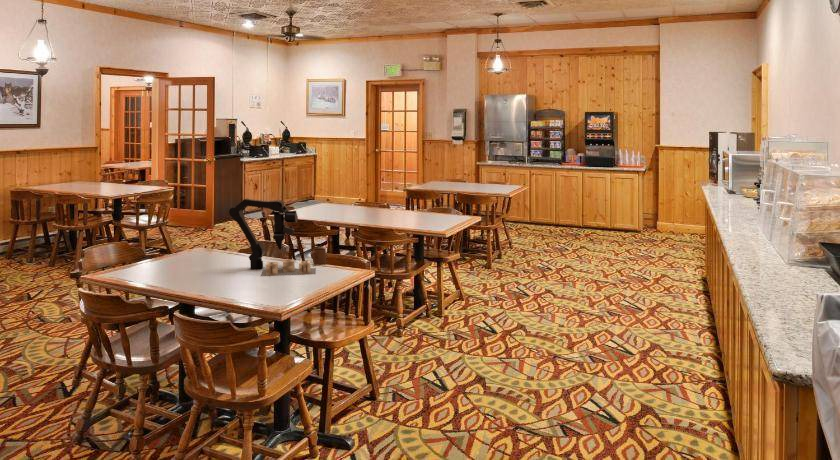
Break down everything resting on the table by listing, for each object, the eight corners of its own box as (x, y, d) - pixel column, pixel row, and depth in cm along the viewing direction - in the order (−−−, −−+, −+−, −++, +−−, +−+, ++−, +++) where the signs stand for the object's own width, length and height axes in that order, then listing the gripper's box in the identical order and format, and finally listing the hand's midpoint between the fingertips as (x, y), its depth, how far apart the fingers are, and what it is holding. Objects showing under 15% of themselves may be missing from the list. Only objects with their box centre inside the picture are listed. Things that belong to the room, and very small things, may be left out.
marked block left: (266, 275, 336) (265, 264, 335) (267, 272, 342) (266, 262, 341) (277, 274, 337) (276, 263, 336) (277, 272, 343) (277, 261, 342)
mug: (316, 267, 358) (316, 251, 357) (306, 266, 361) (305, 250, 360) (328, 263, 369) (328, 248, 367) (318, 262, 372) (317, 247, 371)
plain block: (283, 272, 343) (282, 261, 342) (283, 269, 349) (283, 259, 348) (294, 271, 344) (293, 261, 343) (294, 269, 350) (294, 259, 349)
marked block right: (299, 274, 339) (298, 263, 338) (299, 271, 345) (299, 260, 344) (310, 273, 340) (309, 262, 339) (310, 271, 346) (310, 260, 345)
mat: (260, 277, 334) (260, 276, 334) (262, 271, 349) (262, 269, 349) (315, 275, 339) (315, 274, 338) (315, 269, 354) (315, 268, 354)
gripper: (292, 224, 341) (293, 251, 343) (294, 219, 359) (294, 245, 361) (272, 224, 339) (273, 252, 341) (274, 220, 357) (275, 246, 360)
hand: (280, 249), depth 351 cm, fingers closed
